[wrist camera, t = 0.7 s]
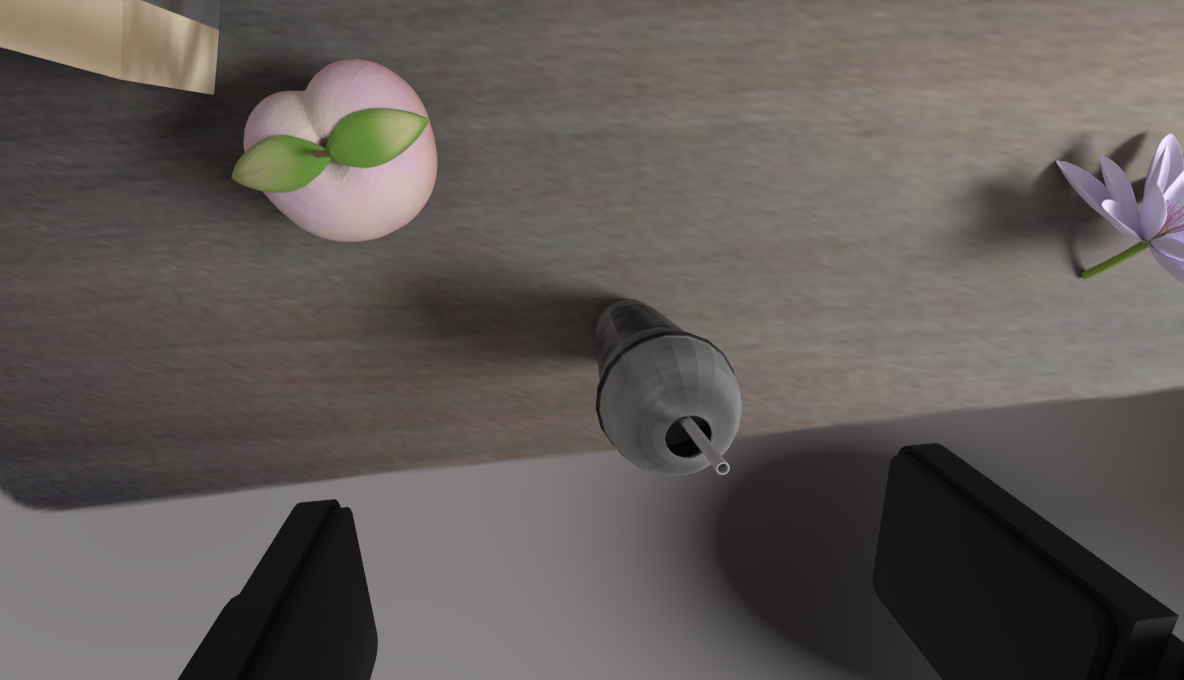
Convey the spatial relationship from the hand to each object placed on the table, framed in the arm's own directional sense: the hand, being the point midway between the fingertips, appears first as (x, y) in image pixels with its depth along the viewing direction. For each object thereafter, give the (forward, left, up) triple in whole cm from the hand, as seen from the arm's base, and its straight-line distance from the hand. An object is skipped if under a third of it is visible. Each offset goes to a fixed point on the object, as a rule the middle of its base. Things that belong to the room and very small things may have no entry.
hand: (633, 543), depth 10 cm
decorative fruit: (-3, -12, -29) cm, 32 cm away
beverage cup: (+4, +6, -29) cm, 30 cm away
